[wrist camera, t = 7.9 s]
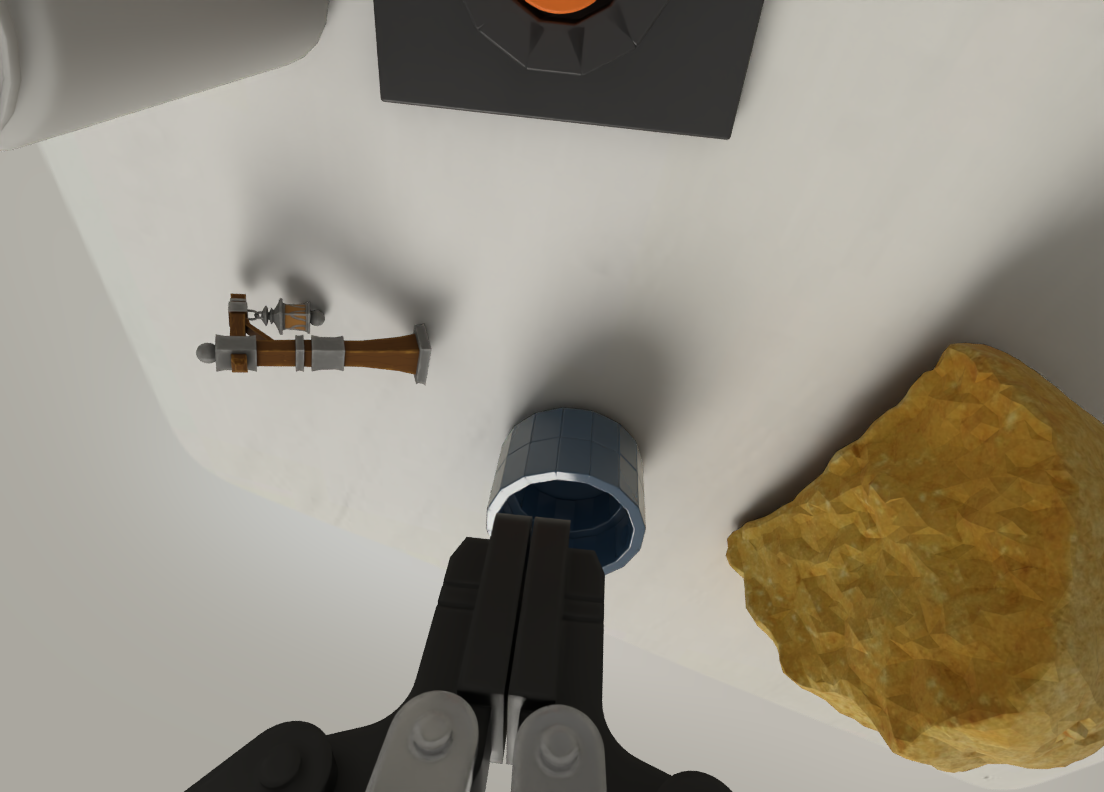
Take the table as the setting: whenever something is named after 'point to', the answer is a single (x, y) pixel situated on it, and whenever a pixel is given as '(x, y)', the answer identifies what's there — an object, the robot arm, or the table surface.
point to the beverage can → (135, 55)
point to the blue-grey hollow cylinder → (575, 481)
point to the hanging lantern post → (309, 344)
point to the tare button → (560, 5)
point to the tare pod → (572, 60)
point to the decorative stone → (949, 571)
